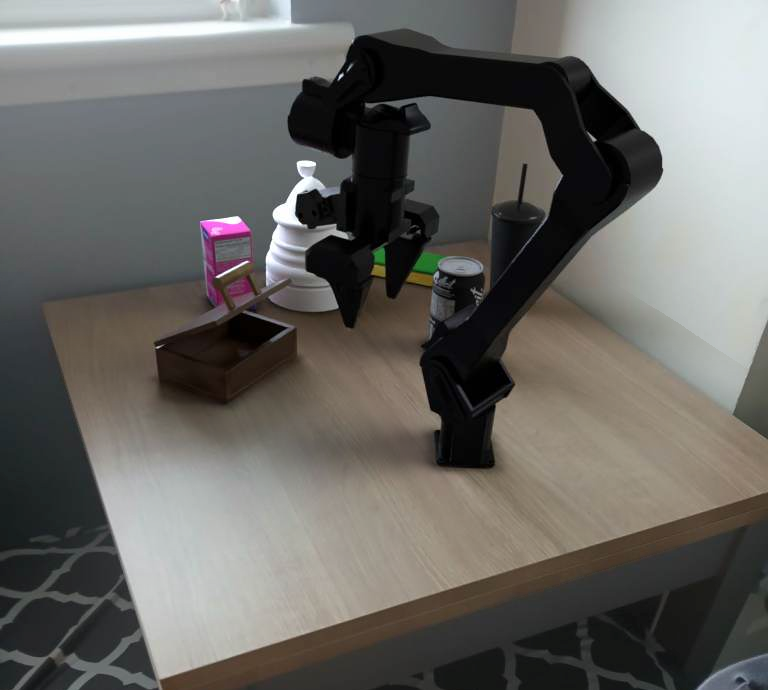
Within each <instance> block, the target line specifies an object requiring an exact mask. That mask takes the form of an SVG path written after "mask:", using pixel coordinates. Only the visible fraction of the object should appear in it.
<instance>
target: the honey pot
mask: <svg viewBox="0 0 768 690" xmlns="http://www.w3.org/2000/svg"><path fill="white" fill-rule="evenodd" d="M296 167H297V171H298V174H299V175H300V176H301V178H303V179H302V180H300V181H299V182H298V183H297V184H296V185H295V186H294V187H293V189H292V190H291V192H290V194H289V196H288V198H287V200H286V202H285V203H282V204H280V205H278V206H276V208H275V209H273V212H272V217H273V220H274V222H275V223H277V226H276V228H275V230H274V231H273V234H272V236H271V237H272V238H271V239H272V240H271V242H270V244H269V250H268V252H267V254H266V257H265V264H266V265H265V269H266V271H265V277H266V278H265V283H266V285H265V287H266V286H268V285H271V284H274V283H277V282H279V281H282V280H285V279H287V278H291V280H292V283H291V284H290V285H288V286H286V287H284V288H283V289H281V290H279V291H278V292H276V293H274V294H272V295H271V296H269V297H267V298H268V299H269V300H270V301H271V302H272V303H273V304H275V305H277V306H279V307H282V308H284V309H287V310H292V311H297V312H304V313H307V312H308V313H319V312H327V311H334V310H337V309H339V308H338V305H337V301H336V298H335V296H334V293H333V291H332V288H331V286H330V284H329V283H328V282H327V281H326V280H325V279H323V278H320V277H317V276H315V274H312V273H309V272H306V270H305V251H306V250H307V249H308V248H309V247H310V246H312V245H313V244H315V243H317V242H318V241H320V240H322V239H324V238H326V237H327V236H329V235H334V236H338V237H341V238H345V239H348V240H349V236H348V234H347V232H346V233H344V232H341V231H337V230H336V224H332V225H325V226H317V227H316V228H315V229H308V228H307V225H302V224H301V223H300V222H299V221H298V218H297V217H296V216H295V211H296V210H295V207H296V197H297V194H299V193H301V192H303V191H305V190H308V191H311V190H313V189H317V190H321V189H325V188H327V187H326V186H325V185H324V183H322V182H321V181H320V179H317V178H316V177H314V176H313V175H314V173H315V171H316V167H317V163H316V162H315V161H311V160H299V161H297V162H296Z"/></svg>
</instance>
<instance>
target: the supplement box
mask: <svg viewBox="0 0 768 690" xmlns="http://www.w3.org/2000/svg"><path fill="white" fill-rule="evenodd" d="M199 226H200V237H201V239H200V240H201V248H202V258H203V269H204V279H205V289H206V298H207V299H208V300H209V301H210V303H211V304H212V306H213V307H214V308H216V307H217V306H219V305H221V304H223V303H225V301H224V299H223V297H222V295H221V293H220V291H218V290H216V289H215V288H214V287H213V285H212V279H213V278H214V277H216V276H218V275H220V274H222V273H224V272H226V271H228V270H230V269H231V268H233V267H235V266H237V265H239V264H241V263H243V262H245V261H249V262H251V263H252V264H253V265H254V254H253V237H252V230H251V229H250V228H249V227H248V226H247V224H245V222H244V221H243V220H242V219H241V218H240V216H238V215H237V216H231V217H223V218H219V219H218V218H217V219H209V220H201V221H199ZM253 275H254V276H255V271H254V272H253ZM227 289H228V291H229V293H230V295H231V298H232V299H233V298H236V297H239V296H241V295H244V294H247V293H249V292H252V289H251V287H250V285H249V283H248V280H247V278H246V277H245V278H243V279H241V280H239V281H237V282H236V283H234V284H232V285H230V286H228V287H227ZM256 309H257V304H255V305H253V306H252V307H250V308H248V309H247V310H246V311H248V310H249V311H250V310H256Z"/></svg>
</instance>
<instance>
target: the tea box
mask: <svg viewBox="0 0 768 690" xmlns="http://www.w3.org/2000/svg"><path fill="white" fill-rule="evenodd" d="M154 350H155V359H156V368H157V374H158V380H160V381H163V382H165V383H168V384H171V385H174V386H176V387H179V388H182V389H184V390H186V391H189V392H192V393H194V394H198V395H200V396H202V397H205V398H208V399H210V400H214V401H216V402H219V403H221V404H224V405H229V404H230V403H232V402H234V401H235V400H237V399H238V398H239V397H241V396H242V395H244V394H245V393H247V392H248V391H250V390H251V389H253V388H254V387H255V386H257V385H258V384H260V383H261V382H263V381H264V380H266V379H267V378H268V377H271V376H272V375H273V374H274V373H276V372H277V371H279V370H281V369H282V368H283V367H284V366H286V365H288V364H289V363H291V362H292V361H293V360H294V359H296V358H297V357H298V328H297V326H295V325H292V324H289V323H286V322H283V321H280V320H276V319H273V318H270V317H267V316H264V315H262V314H258V313H254V312H253V311H250V310H249V311H248V310H245V311H243V312H241V313H240V314H238V315H236V316H235V317H233V318H231V319H229V320H228V321H226V322H224V323H222V324H221V325H219V326H217V327H214V328H211V329H208V330H205V331H202V332H199V333H196V334H194V335H191V336H188V337H185V338H182V339H179V340H176V341H173V342H170V343H167V344H165V345H162V346H159V347H156V346H155V348H154Z"/></svg>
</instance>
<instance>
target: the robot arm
mask: <svg viewBox="0 0 768 690" xmlns="http://www.w3.org/2000/svg"><path fill="white" fill-rule="evenodd" d="M426 97H427V98H428V97H433V98H441V99H448V100H455V101H464V102H470V103H478V104H486V105H493V106H500V107H508V108H516V109H524V110H530V111H533V112H534V114H535V115H536V117H537V118H538V120H539V121H540V124H541V127H542V131H543V135H544V138H545V142H546V145H547V149H548V154H549V156H550V158H551V160H552V161H553V163H554V164H555V166H556V168H557V169H558V170H559V172H560V173H561V176H560V177H559V179H558V182H557V183H556V185H555V187H554V189H553V194H552V197H551V202H550V207H549V211H548V214H546V217H545V219H544V220H543V221H542V224H541V225H540V226H539V228H538V229H537V230H536V231H535V233H534V234H533V235H532V237H531V238H530V239H529V240H528V242H527V243H526V244H525V246H524V247H523V248H522V249H521V251H520V252H519V253H518V254H517V256H516V257H515V258H514V260H513V261H512V262H511V263H510V265H509V266H508V267H507V269H506V270H505V271H504V272H503V274H502V275H501V276H500V278H499V279H498V280H497V281H496V283H495V284H494V285H493V286H492V288H491V289H490V288H489V290H488V291H487V293H486V294H485V295H484V296H483V299H482V301H481V302H480V303H479V304H478V306H477V307H476V308H475V307H474V305H473V304H472V305H470V306H468V307H466V308H465V309H463V310H461V311H459V312H457V313H455V314H453V315H452V316H450V317H448V318H446V319H444V320H442V321H441V322H440V323H439V324H438V326H437V327H436V329H435V331H434V333H433V335H432V337H431V338H430V340H429V341H428V340H427V341H426V342H424V343H422V344H420V348H421V349H423V350H424V351H423V352H422V354H421V356H420V358H419V363H418V364H419V367H420V369H421V374H422V379H423V384H424V389H425V392H426V397H427V402H428V406H429V410H430V412H433V413H435V414H437V415H438V416H439V417H440V420H441V422H440V429H436V430H434V432H433V441H434V452H435V454H434V455H435V463H436V464H437V465H438V466H447V467H448V466H449V467H451V466H452V467H473V468H495V466H496V458H495V454H494V453H495V452H494V447H493V440H492V435H493V428H494V422H495V416H496V409H497V405H496V404H497V403H499V402H501V401H502V400H504V399H506V398H508V397H509V396H510V395H511V393H512V391H513V389H514V388H515V386H516V382H515V381H514V379H513V377H512V375H511V374H510V372H509V370H508V368H507V366H506V365H505V364H504V361H503V360H502V357H503V355H504V354H505V352H506V350H507V346H508V342H509V336H510V334H511V332H512V331H513V329H514V328H515V327H516V326H517V324H519V322H520V321H521V320H522V319H523V317H524V316H525V315H526V314H528V312H529V310H530V309H531V308H532V307H533V306H534V305H535V304H536V302H537V301H538V300H539V299H540V298H541V296H542V295H543V294H545V292H546V291H547V290H548V288H549V287H550V286H551V285H552V284H553V282H555V280H556V279H557V278H558V276H559V275H560V274H561V273H562V272H563V271H564V270H565V269H566V268H567V266H568V265H569V264H570V263H571V261H572V260H573V259H574V258H575V257H576V256H577V254H578V253H579V252H580V251H581V250H582V249H583V247H584V246H585V245H586V244H587V243H588V242H589V241H590V239H591V238H592V237H593V236H594V235H596V234H597V233H598V232H600V231H601V230H603V229H604V228H605V227H607V226H608V225H609V224H610V223H612V222H613V221H615V220H616V219H618V218H619V217H620V216H622V215H623V214H624V213H626V212H627V211H628V210H630V209H631V208H632V207H634V206H635V205H636V204H637V203H638V202H639V201H641V200H642V199H644V198H645V196H647V195H648V194H650V193H651V192H652V191H653V190H654V189H655V188H656V187H657V185H658V184H659V182H660V180H661V179H662V177H663V174H664V168H663V154H662V151H661V148H660V146H659V144H658V143H657V141H656V139H655V138H654V137H653V136H652V135H650V134H649V133H648V132H646V131H645V130H642V129H641V127H640V126H639V125H638V123H637V122H636V120H635V118H634V117H633V115H632V114H631V112H630V111H629V110H628V109H627V107H625V106H624V105H623V104H622V103H621V102H620V101H619V100H618V99H617V98H616V97H615V96H614V95H612V94H611V92H609V91H608V90H607V89H606V88H605V87H604V86H603V85H602V84H601V83H600V82H599V80H598V79H597V78H596V76H595V75H594V73H593V71H592V69H591V68H590V67H589V66H588V64H587V63H586V62H585V61H584V60H582V59H581V58H580V57H576V56H574V55H567V56H563V57H554V56H553V57H552V56H551V57H550V56H541V55H530V54H521V53H512V52H511V53H509V52H499V51H490V50H480V49H479V50H478V49H467V48H459V47H458V48H456V47H452V46H449V45H446V44H444V43H442V42H440V41H439V40H437V39H436V38H435V37H433V36H431V35H428V34H425V33H422V32H419V31H416V30H413V29H410V28H406V27H404V28H397V29H396V28H395V29H391V30H385V31H379V32H373V33H368V34H361V35H358V36H355V37H354V38H353V39H352V42H351V44H350V45H349V46H348V49H347V53H346V56H345V61H344V63H343V64H342V66H341V67H340V69H339V71H338V72H337V73H336V75H335V77H334V79H333V80H332V82H331V81H329V80H327V79H326V78H323V77H320V76H318V75H317V76H316V75H315V76H309V77H305V78H303V79H302V80H301V91H300V92H299V93H298V94H297V95H296V97H295V98H294V99H293V102H292V105H291V107H290V110H289V114H288V115H287V120H286V121H287V122H286V123H287V130H288V134H289V137H290V139H291V140H292V141H293V142H294V144H296V145H298V146H300V147H303V148H306V149H309V150H311V151H315V152H318V153H321V154H324V155H327V156H330V157H333V158H336V159H340V160H345V159H348V158H349V157H351V173H350V175H351V176H349V177H346V178H345V179H343V180H342V181H341V182H340V185H338V186H332V187H326V188H325V189H321V190H317V189H313V190H311V191H308V190H305V191H303V192H301V193H299V194H297V197H296V207H295V210H296V211H295V216H296V217H297V218H298V221H299V222H300V223H301V224H302V225H307V228H308V229H315V228H316V227H317V226H325V225H332V224H336V230H337V231H341V232H344V233H346V234H347V233H351V236H352V237H353V239H349V238H348V239H345V238H341V237H338V236H334V235H329V236H327V237H326V238H324V239H322V240H320V241H318V242H317V243H315V244H313V245H312V246H310V247H309V248H308V249H307V250H306V251H305V270H306V272H309V273H312V274H315V276H317V277H320V278H323V279H325V280H326V281H327V282H328V283H329V284H330V286H331V288H332V291H333V293H334V296H335V298H336V301H337V305H338V308H337V309H338V311H339V314H340V317H341V320H342V323H343V326H344V327H345V328H348V329H350V330H353V329H355V328H356V326H357V323H358V321H359V318H360V316H361V313H362V311H363V308H364V306H365V304H366V300H367V297H368V296H369V293H370V290H371V287H372V284H373V283H374V280H375V275H371V273H372V270H373V268H374V263H375V256H374V254H373V253H374V252H376V251H377V250H379V249H381V248H382V247H384V250H385V277H384V279H385V281H384V282H385V294H386V298H388V299H391V300H396V298H397V297H398V296H399V295H400V292H401V291H402V289H403V286H405V283H406V282H407V281H406V280H407V278H408V276H409V275H410V273H411V271H412V270H413V268H414V266H415V265H416V263H417V261H418V260H419V258H420V256H421V255H422V253H423V252H425V250H426V248H427V247H428V245H429V244H430V243H431V242H432V239H433V237H432V236H433V235H436V234H437V233H438V232H439V225H440V214H439V213H438V211H437V210H436V208H435V207H434V205H431V204H428V203H424V202H420V201H417V200H414V199H413V200H412V199H410V198H407V195H409V194H411V193H412V192H414V191H415V184H416V181H415V179H414V180H413V179H409V177H408V174H409V165H410V163H409V162H410V153H411V152H410V150H411V139H412V136H414V135H417V134H419V133H423V132H427V131H429V130H431V128H432V124H431V122H430V121H429V119H428V117H427V116H426V115H425V114H424V113H423V112H422V110H420V108H419V105H418V103H417V102H411V103H408V104H403V105H401V106H400V107H398V106H395V105H391V104H387V103H390V102H398V101H405V100H411V99H418V98H426ZM366 104H370V105H372V104H376V105H374V106H373V107H369V106H366ZM592 137H593V138H592ZM593 139H595V140H593Z"/></svg>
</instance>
